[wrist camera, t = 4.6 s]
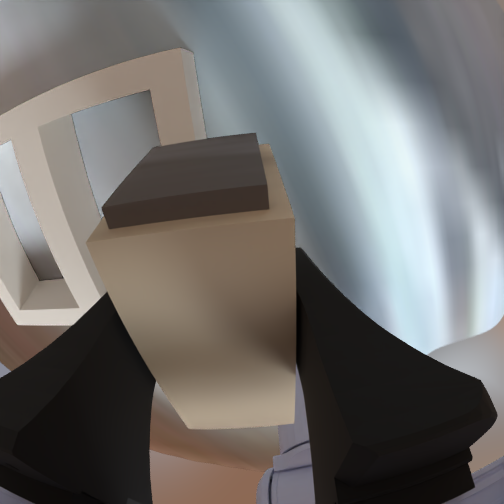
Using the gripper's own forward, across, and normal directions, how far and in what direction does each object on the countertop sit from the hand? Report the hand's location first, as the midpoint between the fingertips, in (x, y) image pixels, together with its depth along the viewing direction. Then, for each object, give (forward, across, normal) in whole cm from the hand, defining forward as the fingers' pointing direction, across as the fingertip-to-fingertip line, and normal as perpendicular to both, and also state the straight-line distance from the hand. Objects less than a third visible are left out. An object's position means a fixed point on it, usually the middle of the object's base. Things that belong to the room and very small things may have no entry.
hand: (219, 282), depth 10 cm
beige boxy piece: (+2, 0, 0) cm, 2 cm away
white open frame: (+8, +9, 0) cm, 12 cm away
